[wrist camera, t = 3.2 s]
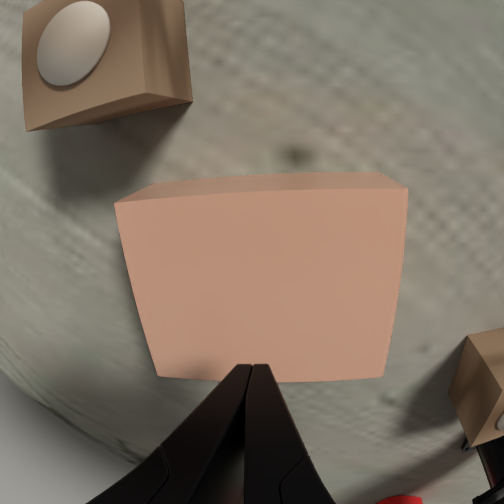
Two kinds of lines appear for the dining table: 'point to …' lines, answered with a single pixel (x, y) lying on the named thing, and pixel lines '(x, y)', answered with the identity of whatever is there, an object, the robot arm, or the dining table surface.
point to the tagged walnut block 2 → (480, 387)
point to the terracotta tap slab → (267, 272)
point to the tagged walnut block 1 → (102, 60)
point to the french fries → (401, 500)
